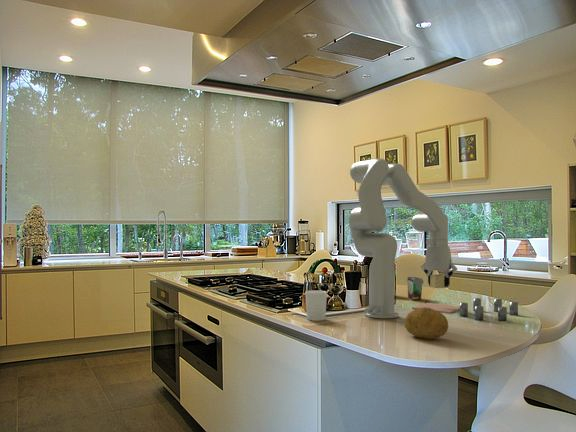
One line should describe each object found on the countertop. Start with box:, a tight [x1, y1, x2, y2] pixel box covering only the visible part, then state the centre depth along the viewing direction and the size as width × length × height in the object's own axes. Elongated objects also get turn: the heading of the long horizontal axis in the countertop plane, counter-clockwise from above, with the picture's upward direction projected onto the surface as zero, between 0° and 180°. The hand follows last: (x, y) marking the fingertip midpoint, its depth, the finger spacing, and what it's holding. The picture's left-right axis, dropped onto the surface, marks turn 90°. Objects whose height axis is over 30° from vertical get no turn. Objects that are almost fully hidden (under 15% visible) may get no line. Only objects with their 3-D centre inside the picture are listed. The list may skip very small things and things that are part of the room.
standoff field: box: [459, 297, 519, 322], centre depth 184 cm, size 27×17×5 cm, turn 141°
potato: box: [404, 307, 449, 340], centre depth 145 cm, size 10×13×9 cm
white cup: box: [304, 289, 328, 322], centre depth 174 cm, size 8×8×10 cm
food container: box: [406, 276, 425, 302], centre depth 225 cm, size 12×6×10 cm, turn 179°
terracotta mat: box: [411, 302, 460, 314], centre depth 199 cm, size 16×16×1 cm
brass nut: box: [429, 274, 448, 289], centre depth 200 cm, size 7×6×5 cm
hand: (438, 285), depth 200 cm, fingers closed on brass nut, 6 cm apart
